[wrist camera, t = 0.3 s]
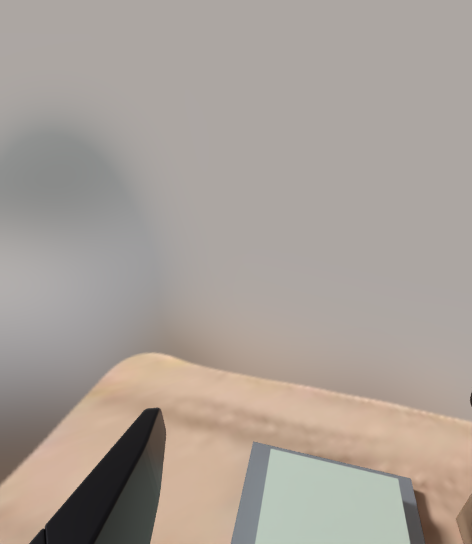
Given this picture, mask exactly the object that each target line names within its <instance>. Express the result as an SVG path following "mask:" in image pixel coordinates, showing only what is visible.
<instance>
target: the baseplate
mask: <svg viewBox="0 0 472 544" xmlns="http://www.w3.org/2000/svg"><path fill="white" fill-rule="evenodd" d="M271 449H275V450H279V451H283V452H287V453H292V454H296V455H300V456H304V457H308V458H313V459H317V460H321V461H325V462H329V463H334V464H338V465H342V466H346V467H351V468H355V469H359V470H363V471H367V472H372V473H376V474H380V475H384V476H388V477H393V478H397V479H398V481H399V487H400V492H401V497H402V503H403V508H404V513H405V518H406V524H407V529H408V534H409V540H410V544H425V540H424V536H423V531H422V527H421V522H420V518H419V513H418V509H417V504H416V500H415V495H414V491H413V486H412V482H411V479H410V478H406V477H402V476H397V475H393V474H389V473H385V472H380V471H376V470H372V469H368V468H363V467H359V466H355V465H351V464H346V463H342V462H338V461H334V460H329V459H325V458H321V457H317V456H312V455H308V454H304V453H300V452H295V451H291V450H287V449H283V448H278V447H274V446H270V445H266V444H261V443H257V442H253V445H252V450H251V454H250V459H249V464H248V468H247V473H246V477H245V482H244V486H243V491H242V495H241V500H240V504H239V509H238V513H237V518H236V522H235V527H234V532H233V536H232V541H231V544H255V541H256V535H257V529H258V523H259V517H260V511H261V505H262V499H263V493H264V487H265V481H266V474H267V468H268V462H269V456H270V450H271Z"/></svg>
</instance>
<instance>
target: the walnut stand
mask: <svg viewBox="0 0 472 544" xmlns="http://www.w3.org/2000/svg"><path fill="white" fill-rule="evenodd" d="M456 520H457V524H458V527H459V530H460V533H461V537H462V540H463V543H464V544H472V494H471V495H470V497H469V499H468V500H467V502H466V503H465V505H464V507H463V508H462V510H461V511H460V513H459V515H458V516H457V518H456Z"/></svg>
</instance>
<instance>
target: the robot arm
mask: <svg viewBox="0 0 472 544" xmlns="http://www.w3.org/2000/svg"><path fill="white" fill-rule="evenodd" d="M470 403H471V406H472V393H471V397H470ZM165 441H166V428H165V424H164V420H163V415H162V411H161V409H160V408H148V409H145V410H144V411H143V412H142V413H141V415H140V416H139V417H138V418H137V419H136V420H135V422H134V423H133V424H132V425H131V426H130V427H129V429H128V430H127V431H126V432H125V433H124V434H123V436H122V437H121V438H120V439H119V440H118V441H117V442H116V444H115V445H114V446H113V447H112V448H111V449H110V451H109V452H108V453H107V454H106V455H105V456H104V458H103V459H102V460H101V461H100V462H99V463H98V465H97V466H96V467H95V468H94V469H93V470H92V472H91V473H90V474H89V475H88V476H87V477H86V478H85V480H84V481H83V482H82V483H81V484H80V485H79V487H78V488H77V489H76V490H75V491H74V492H73V494H72V495H71V496H70V497H69V498H68V499H67V501H66V502H65V503H64V504H63V505H62V506H61V508H60V509H59V510H58V511H57V512H56V513H55V515H54V516H53V517H52V518H51V519H50V520H49V521H48V523H47V524H46V525H45V529H41V531H40V532H39V533H38V534H37V535H36V536H35V538H34V539H33V540H32V541H31V542H30V543H29V544H150V541H151V536H152V532H153V527H154V522H155V517H156V512H157V507H158V502H159V497H160V489H161V480H162V470H163V460H164V451H165Z"/></svg>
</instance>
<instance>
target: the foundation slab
mask: <svg viewBox="0 0 472 544" xmlns="http://www.w3.org/2000/svg"><path fill="white" fill-rule="evenodd" d="M255 544H410V540H409V534H408V529H407V524H406V518H405V513H404V508H403V503H402V497H401V492H400V487H399V481H398V479H397V478H393V477H388V476H384V475H380V474H376V473H372V472H367V471H363V470H359V469H355V468H351V467H346V466H342V465H338V464H334V463H329V462H325V461H321V460H317V459H313V458H308V457H304V456H300V455H296V454H292V453H287V452H283V451H279V450H275V449H271V450H270V456H269V462H268V468H267V474H266V481H265V487H264V493H263V499H262V505H261V511H260V517H259V523H258V529H257V535H256V541H255Z"/></svg>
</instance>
